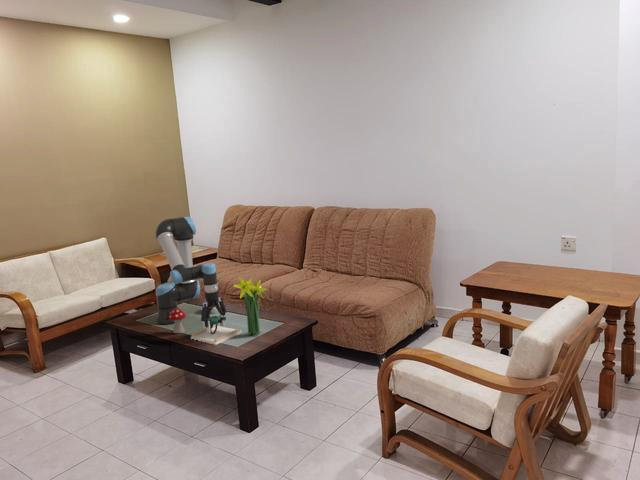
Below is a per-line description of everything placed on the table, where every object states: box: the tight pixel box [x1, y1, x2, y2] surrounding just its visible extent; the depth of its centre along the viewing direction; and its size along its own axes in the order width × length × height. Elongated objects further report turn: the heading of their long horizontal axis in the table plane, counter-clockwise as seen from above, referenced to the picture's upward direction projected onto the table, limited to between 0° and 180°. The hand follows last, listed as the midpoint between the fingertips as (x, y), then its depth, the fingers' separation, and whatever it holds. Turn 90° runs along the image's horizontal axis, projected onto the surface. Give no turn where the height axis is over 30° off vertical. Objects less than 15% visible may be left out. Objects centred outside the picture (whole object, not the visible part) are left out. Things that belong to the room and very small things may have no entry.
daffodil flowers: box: [232, 276, 268, 336], centre depth 285 cm, size 17×15×35 cm
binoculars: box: [203, 315, 227, 334], centre depth 288 cm, size 9×11×10 cm
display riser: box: [190, 324, 242, 346], centre depth 289 cm, size 20×20×3 cm
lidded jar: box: [204, 300, 220, 314], centre depth 335 cm, size 11×11×9 cm
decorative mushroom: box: [169, 308, 187, 334], centre depth 297 cm, size 10×9×15 cm
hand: (215, 329), depth 288 cm, fingers closed on binoculars, 10 cm apart
